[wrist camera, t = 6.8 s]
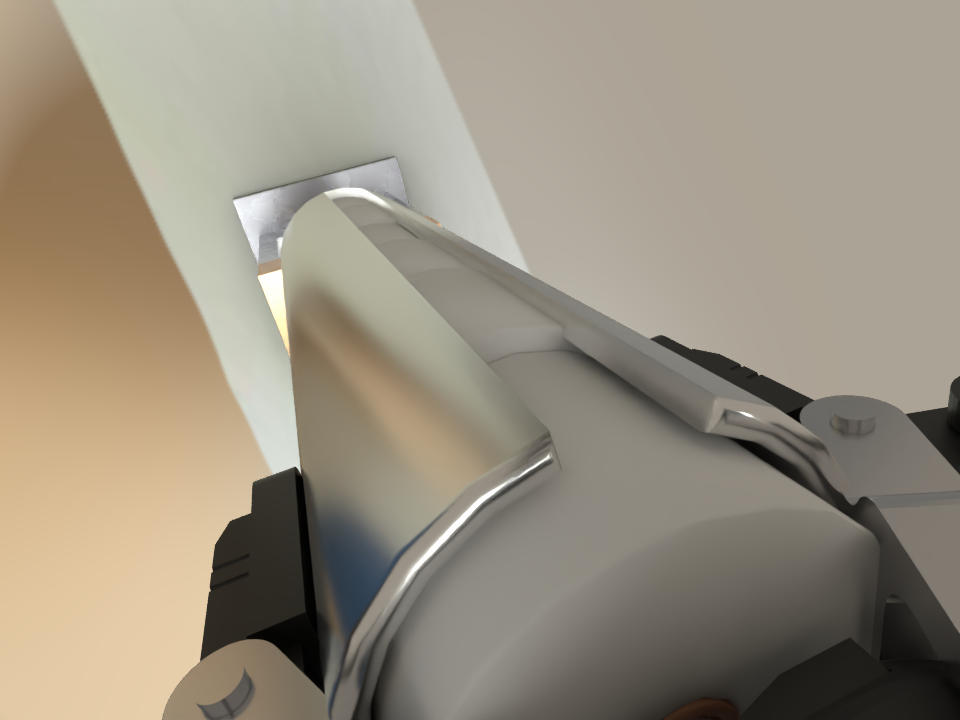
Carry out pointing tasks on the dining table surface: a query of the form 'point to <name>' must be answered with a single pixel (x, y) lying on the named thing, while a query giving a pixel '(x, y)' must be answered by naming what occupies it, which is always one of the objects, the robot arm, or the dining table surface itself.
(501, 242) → the dining table surface
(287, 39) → the dining table surface
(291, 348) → the grey cylinder
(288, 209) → the collar stand
